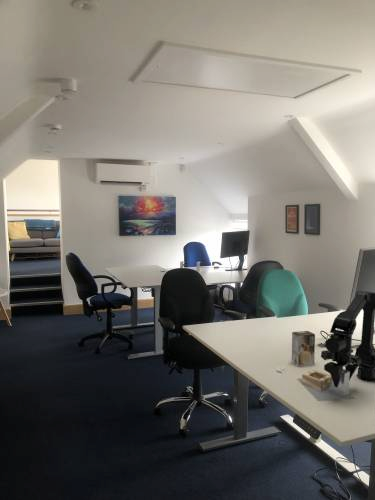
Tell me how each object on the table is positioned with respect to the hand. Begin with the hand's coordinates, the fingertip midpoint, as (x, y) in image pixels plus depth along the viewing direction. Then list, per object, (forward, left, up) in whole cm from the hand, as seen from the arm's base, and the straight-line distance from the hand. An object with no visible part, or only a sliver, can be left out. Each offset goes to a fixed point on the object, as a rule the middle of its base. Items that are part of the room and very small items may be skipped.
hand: (341, 383), depth 164 cm
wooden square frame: (+6, -10, -4) cm, 13 cm away
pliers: (+18, -23, -6) cm, 29 cm away
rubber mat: (+4, -6, -5) cm, 9 cm away
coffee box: (+2, -33, -5) cm, 34 cm away
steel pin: (0, 0, -4) cm, 5 cm away
